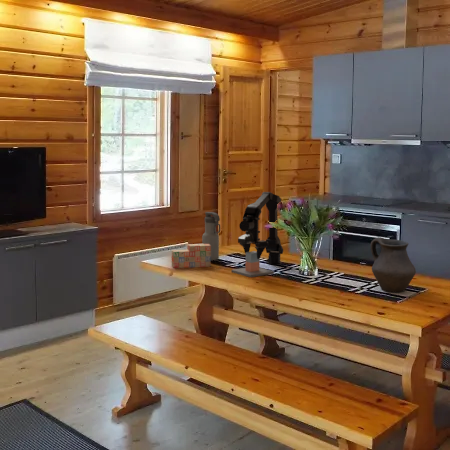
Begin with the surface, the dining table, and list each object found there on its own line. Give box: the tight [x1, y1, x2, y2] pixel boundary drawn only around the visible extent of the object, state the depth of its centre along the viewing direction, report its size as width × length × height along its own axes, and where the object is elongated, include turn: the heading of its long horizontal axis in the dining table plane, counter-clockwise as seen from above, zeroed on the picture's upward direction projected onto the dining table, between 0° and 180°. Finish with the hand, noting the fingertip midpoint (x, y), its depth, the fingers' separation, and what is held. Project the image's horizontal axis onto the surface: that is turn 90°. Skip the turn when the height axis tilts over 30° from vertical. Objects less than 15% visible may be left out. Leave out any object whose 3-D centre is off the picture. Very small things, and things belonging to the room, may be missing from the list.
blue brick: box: [245, 250, 261, 263], centre depth 343 cm, size 6×4×5 cm
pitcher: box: [370, 236, 417, 294], centre depth 307 cm, size 21×22×25 cm
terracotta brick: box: [244, 261, 261, 272], centre depth 344 cm, size 6×4×5 cm
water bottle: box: [201, 211, 221, 262], centre depth 379 cm, size 10×10×28 cm
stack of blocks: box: [171, 243, 212, 269], centre depth 360 cm, size 21×6×12 cm, turn 104°
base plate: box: [231, 267, 274, 278], centre depth 345 cm, size 16×16×1 cm
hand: (252, 257), depth 344 cm, fingers open, 9 cm apart
